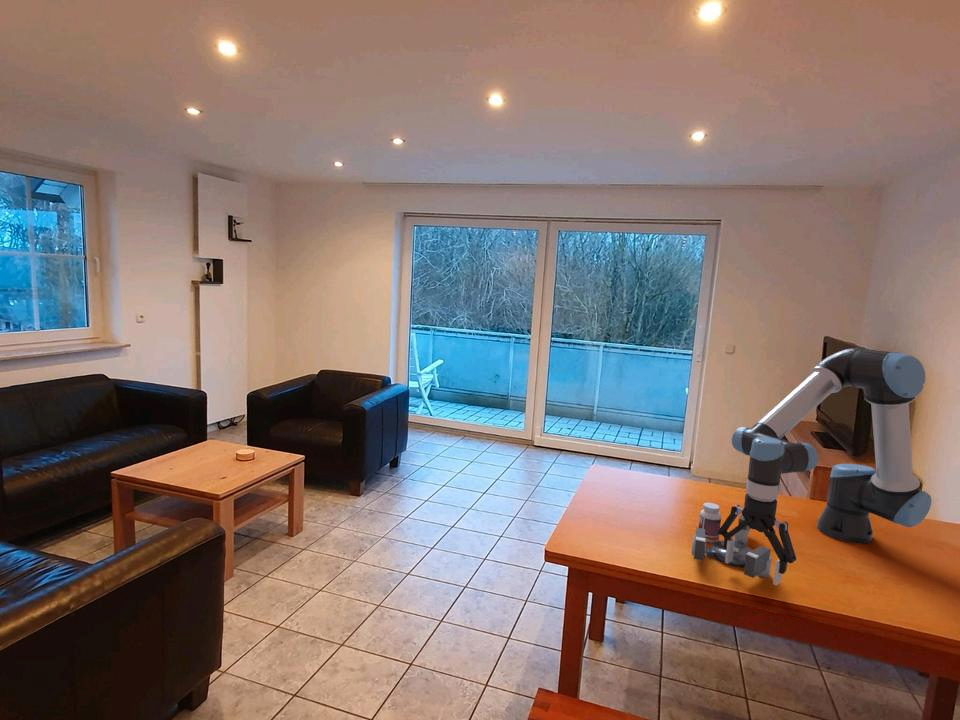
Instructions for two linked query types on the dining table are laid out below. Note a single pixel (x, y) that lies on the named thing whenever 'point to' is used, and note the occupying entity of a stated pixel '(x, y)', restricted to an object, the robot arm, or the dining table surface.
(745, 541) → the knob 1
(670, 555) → the dining table surface
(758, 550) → the grey bar white cap
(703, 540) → the dark bar with dome
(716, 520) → the pill bottle
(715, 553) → the base
